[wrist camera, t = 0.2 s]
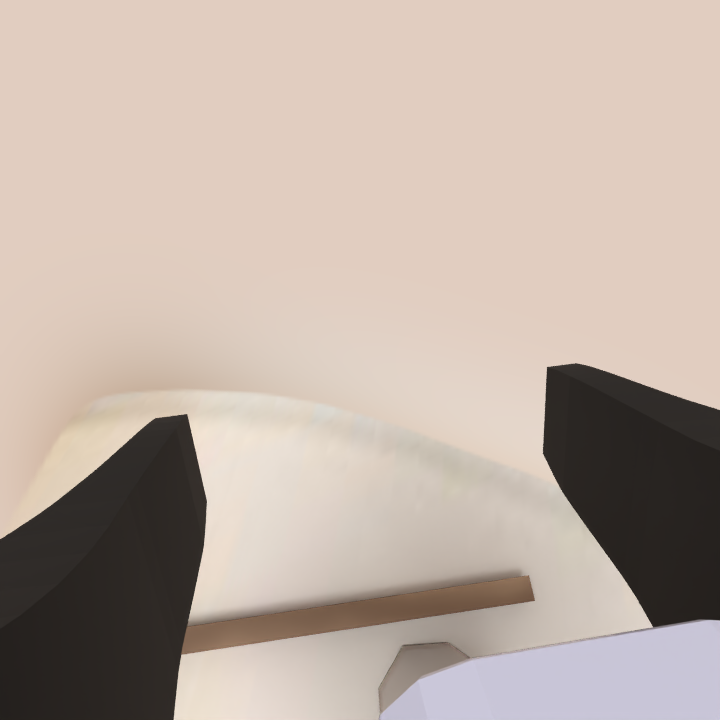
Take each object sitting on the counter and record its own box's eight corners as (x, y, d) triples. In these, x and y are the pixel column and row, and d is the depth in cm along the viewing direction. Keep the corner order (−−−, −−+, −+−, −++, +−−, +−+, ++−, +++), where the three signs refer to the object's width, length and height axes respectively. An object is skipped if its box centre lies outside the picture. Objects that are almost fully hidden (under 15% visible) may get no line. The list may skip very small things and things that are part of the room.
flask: (483, 791, 36) (524, 848, 27) (363, 754, 37) (363, 798, 27) (503, 658, 39) (546, 669, 29) (391, 626, 39) (400, 628, 30)
